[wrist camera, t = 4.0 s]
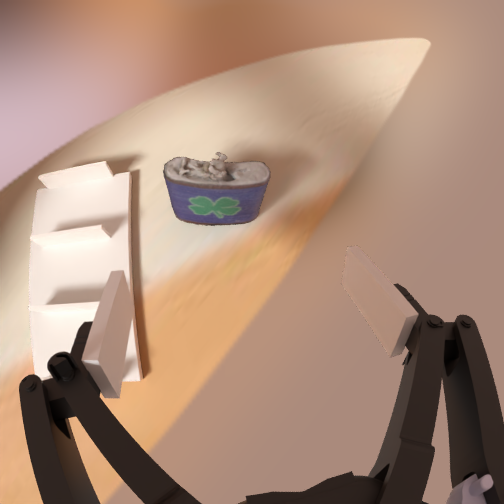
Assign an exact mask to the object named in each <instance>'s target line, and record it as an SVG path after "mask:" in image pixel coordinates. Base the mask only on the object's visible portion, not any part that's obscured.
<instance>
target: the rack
mask: <svg viewBox="0 0 504 504" xmlns="http://www.w3.org/2000/svg"><path fill="white" fill-rule="evenodd" d="M38 179H39V180H40V181H41V182H42V183H43V184H44V185H45V186H46V188H42V189H37V194H36V201H35V208H34V216H33V224H32V235H31V236H30V240H31V247H30V265H29V306H28V310H29V314H30V332H31V344H32V354H33V362H34V370H35V375H37V376H38V377H40V379H41V380H46V379H50V378H53V377H52V375H51V374H50V372H49V371H48V368H47V363H48V361H49V359H50V358H51V357H52V356H53V355H54V354H56V353H58V352H64V351H65V352H68V353H70V352H71V349H72V346H73V344H74V340H75V338H76V334H77V331H78V329H79V327H80V326H81V325H82V324H83V323H84V322H88V321H93V320H94V317H95V314H96V311H97V308H98V306H99V303H100V300H101V297H102V294H103V291H104V289H105V286H106V283H107V281H108V278H109V275H110V273H111V271H117V270H124V274H125V277H126V281H127V284H128V288H129V291H130V295H131V298H132V301H133V304H134V293H133V277H132V253H131V189H132V176H131V174H130V172H125V173H119V174H113V173H112V171H111V169H110V167H109V166H108V164H107V162H106V161H102V162H97V163H92V164H87V165H82V166H77V167H72V168H68V169H63V170H59V171H54V172H50V173H46V174H42V175H39V177H38ZM141 380H143V375H142V368H141V361H140V353H139V345H138V337H137V328H136V317H135V306H134V313H133V318H132V323H131V328H130V334H129V339H128V345H127V351H126V357H125V363H124V370H123V376H122V381H141Z"/></svg>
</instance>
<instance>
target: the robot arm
mask: <svg viewBox="0 0 504 504" xmlns="http://www.w3.org/2000/svg"><path fill="white" fill-rule="evenodd" d="M341 284H342V286H343V287H344V288H345V290H346V292H347V293H348V295H349V296H350V298H351V299H352V301H353V302H354V303H355V305H356V307H357V308H358V309H359V311H360V312H361V314H362V315H363V317H364V318H365V320H366V322H367V323H368V325H369V326H370V327H371V329H372V331H373V332H374V333H375V335H376V337H377V338H378V340H379V341H380V343H381V345H382V346H383V347H384V349H385V351H386V352H387V354H388V356H389V357H394V356H396V355H400V354H402V352H403V350H404V348H405V346H406V347H407V349H408V350H409V352H408V354H407V356H406V358H405V360H404V362H403V365H404V364H405V366H404V371H403V375H402V379H401V384H400V388H399V391H398V395H397V399H396V402H395V406H394V409H393V413H392V417H391V420H390V423H389V426H388V430H387V432H386V436H385V438H384V442H383V444H382V447H381V450H380V453H379V456H378V459H377V461H376V463H375V465H374V467H373V469H372V470H371V472H370V474H369V476H354V475H353V473H352V471H351V472H349V473H346V474H342V475H339V476H336V477H332V478H329V479H327V480H325V481H323V482H321V483H319V484H317V485H315V486H314V487H311V488H310V489H308V490H306V491H303V492H269V493H263V494H257V495H250V496H246V500H247V501H243V502H240V503H238V504H428V503H426V502H423V501H422V497H423V494H424V491H425V488H426V484H427V480H428V477H429V474H430V470H431V466H432V462H433V457H434V452H435V448H434V447H433V446H432V445H431V442H432V437H433V432H434V427H435V422H436V416H437V409H438V404H439V397H440V389H441V380H443V387H444V393H445V401H446V410H447V420H448V431H449V447H450V472H451V482H452V488H453V490H452V492H451V493H450V497H449V498H448V500H447V503H446V504H504V422H503V417H502V412H501V407H500V403H499V399H498V394H497V391H496V386H495V382H494V378H493V375H492V371H491V368H490V364H489V361H488V358H487V354H486V351H485V348H484V345H483V342H482V339H481V336H480V334H479V331H478V328H477V326H476V323H475V321H474V320H473V319H472V318H471V317H469V316H467V315H459V316H457V318H456V320H455V322H444V321H443V320H442V319H441V318H439V317H438V316H435V315H428V314H427V313H426V312H425V310H424V309H423V308H422V307H421V306H420V305H419V303H418V302H417V301H416V300H414V298H413V297H412V295H410V293H409V292H408V291H407V290H406V289H405V288H404V287H402V286H401V285H399V284H392V282H391V281H390V280H389V279H388V278H387V277H386V276H385V274H383V272H382V271H381V270H380V269H379V268H378V267H377V266H376V265H375V263H374V262H373V261H372V260H371V259H370V258H369V257H368V256H367V255H366V254H365V253H364V251H363V250H362V249H361V248H360V247H359V246H350V247H347V251H346V258H345V264H344V270H343V276H342V282H341ZM133 313H134V304H133V301H132V298H131V295H130V291H129V288H128V284H127V281H126V277H125V274H124V270H117V271H111V273H110V275H109V278H108V281H107V283H106V286H105V289H104V291H103V294H102V297H101V300H100V303H99V306H98V308H97V311H96V314H95V317H94V320H93V321H88V322H84V323H83V324H82V325H81V326H80V327H79V329H78V331H77V334H76V338H75V340H74V344H73V346H72V349H71V352H70V353H68V352H65V351H64V352H58V353H56V354H54V355H53V356H52V357H51V358H50V359H49V361H48V363H47V368H48V371H49V372H50V374H51V375H52V377H53V378H50V379H46V380H41V379H40V377H38V376H37V375H34V374H32V375H28V376H26V377H25V378H24V379H23V380H22V381H21V383H20V385H19V393H20V402H21V410H22V417H23V424H24V430H25V435H26V440H27V445H28V450H29V454H30V459H31V463H32V467H33V471H34V474H35V478H36V481H37V485H38V488H39V491H40V495H41V498H42V501H43V504H100V502H99V500H98V498H97V495H96V493H95V491H94V489H93V486H92V484H91V482H90V479H89V477H88V474H87V472H86V469H85V467H84V464H83V462H82V459H81V456H80V454H79V451H78V448H77V445H76V442H75V439H74V436H73V433H72V429H71V426H70V423H69V419H68V418H71V417H75V416H76V417H77V418H78V420H79V421H80V423H81V424H82V426H83V427H84V429H85V430H86V432H87V433H88V435H89V436H90V438H91V439H92V440H93V442H94V443H95V445H96V446H97V447H98V449H99V450H100V452H101V453H102V454H103V456H104V457H105V458H106V459H107V461H108V462H109V463H110V465H111V466H112V467H113V468H114V470H115V471H116V472H117V473H118V474H119V476H120V477H121V478H122V479H123V480H124V482H125V483H126V484H127V485H128V486H129V487H130V488H131V489H132V491H133V492H134V493H135V494H136V495H137V496H138V497H139V498H140V499H141V500H142V501H143V503H145V504H201V503H200V502H199V501H198V500H196V499H195V498H194V497H193V496H192V495H191V494H189V493H188V492H187V491H186V490H185V489H183V488H182V487H181V486H180V485H179V484H177V483H176V482H175V481H174V480H173V479H172V478H171V477H170V476H169V475H168V474H167V473H166V472H165V471H164V470H163V469H161V467H160V466H159V465H158V464H157V463H156V462H155V461H154V460H153V459H152V458H151V457H150V456H149V455H148V454H147V453H146V452H145V451H144V450H143V449H142V448H141V447H140V445H139V444H138V443H137V442H136V441H135V440H134V439H133V438H132V436H131V435H130V434H129V433H128V432H127V431H126V430H125V428H124V427H123V426H122V425H121V424H120V422H119V421H118V420H117V419H116V417H115V416H114V415H113V414H112V412H111V411H110V410H109V409H108V407H107V406H106V405H105V403H104V402H103V401H102V400H101V398H100V391H101V393H102V395H103V396H104V398H120V391H121V384H122V376H123V370H124V363H125V357H126V351H127V345H128V339H129V334H130V328H131V323H132V318H133Z"/></svg>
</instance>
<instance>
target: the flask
mask: <svg viewBox="0 0 504 504" xmlns="http://www.w3.org/2000/svg"><path fill="white" fill-rule="evenodd" d="M216 155H219V159H217V160H216V159H213V158H212V161H210V162H206V161H198V160H194V159H189V158H187V157H176V158H173V159H172V160H170V161H168V162H167V163H166V164H165V165H164V170H163V173H164V178H165V181H166V185H167V188H168V192H169V196H170V200H171V204H172V207H173V210H174V213H175V215H176V218H178V219H179V220H181V221H184V222H187V223H193V224H197V225H199V224H200V225H206V226H207V225H211V226H215V225H231V224H232V225H234V224H235V225H236V224H244V223H248V222H251V221H253V220H254V219H255V218H256V217H257V216H258V213H259V209H260V206H261V203H262V200H263V197H264V193H265V191H266V187H267V185H268V182H269V179H270V170H269V168H268V167H267V166H266V165H265V163H263V162H258V161H250V162H236V163H233V162H230V163H228V162H224V160H226V159H227V156H226V155H224V154H221V153H220V152H217V153H216Z"/></svg>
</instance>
